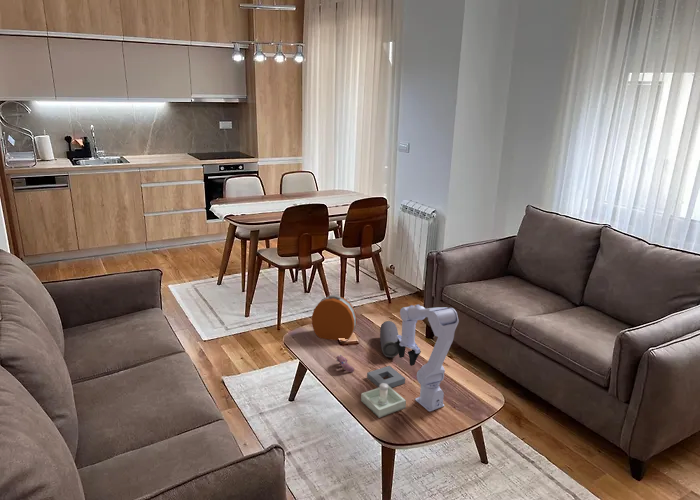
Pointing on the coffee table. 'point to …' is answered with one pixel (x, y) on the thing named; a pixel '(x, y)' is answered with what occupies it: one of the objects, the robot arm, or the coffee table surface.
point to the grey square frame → (388, 371)
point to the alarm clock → (334, 318)
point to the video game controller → (344, 363)
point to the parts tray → (379, 410)
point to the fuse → (383, 394)
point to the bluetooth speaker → (388, 339)
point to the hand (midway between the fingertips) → (406, 360)
